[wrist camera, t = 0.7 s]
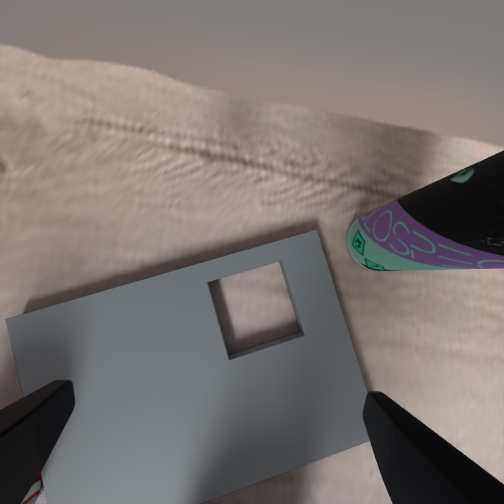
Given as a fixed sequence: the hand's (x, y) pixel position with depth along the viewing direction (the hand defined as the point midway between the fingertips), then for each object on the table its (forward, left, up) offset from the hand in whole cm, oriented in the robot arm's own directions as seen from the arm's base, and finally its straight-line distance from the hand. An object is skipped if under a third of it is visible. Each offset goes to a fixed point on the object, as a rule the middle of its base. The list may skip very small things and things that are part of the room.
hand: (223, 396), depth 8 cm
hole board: (-4, +4, -15) cm, 16 cm away
